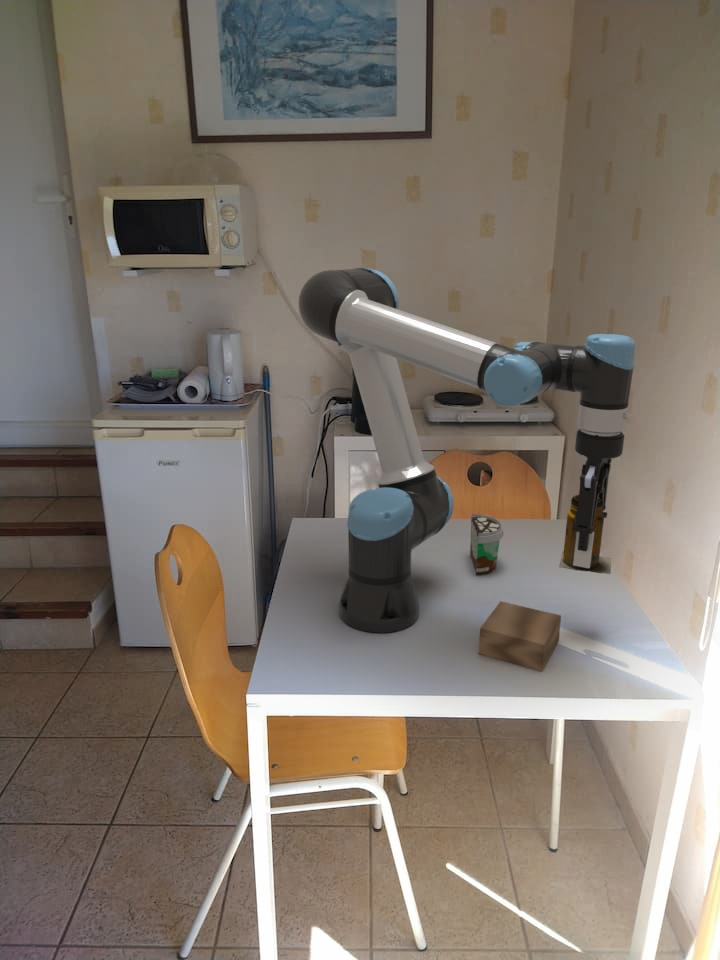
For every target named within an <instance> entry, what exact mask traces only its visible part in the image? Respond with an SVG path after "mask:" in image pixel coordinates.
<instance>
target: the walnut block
mask: <svg viewBox="0 0 720 960" xmlns="http://www.w3.org/2000/svg"><path fill="white" fill-rule="evenodd" d="M561 619H562V615H560V614H556V613H553V612H552V613H551V612H547V611H544V610H539V609H535V608H531V607H528V606H527V607H526V606H522V605H518V604H515V603H510V602H506V601H502V600H501V601H499V602H498V604H497V605H496V607H495V608H494V609H493V610H492V612H491V613H490V614H489V616H488V617H487V618H486V620H485V621H484V622H483V623H482V625H481V626H480V628H479V641H478V642H479V643H478V655H481V656H485V657H489V658H492V659H496V660H500V661H503V662H507V663H510V664H513V665H518V666H521V667H525V668H528V669H532V670H536V671H539V672H544V669H545V667H546V665H547V664H548V662H549V659H550V658H551V656H552V654H553V652H554V650H555V648H556V647H557V645H558V643H559V641H560V632H561V631H560V630H561V622H562V620H561Z"/></svg>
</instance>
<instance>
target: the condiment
mask: <svg viewBox="0 0 720 960" xmlns="http://www.w3.org/2000/svg"><path fill="white" fill-rule="evenodd" d="M578 499H579V494H576V495H574V496H572V498H571V500H570V507H569V511H568V512H567V517H566V524H565V525H566V526H565V537H564V545H563V550H562V552H561V555H560V556H561V557H560V562H559V564H558V565H559V566H558V567H559V568H560V569H566V570H573V571H576V572H577V571H581V572H589V573H591V572H592V573H596V574H606V575H611V574H612V572H611V571H612V558H611V557H606V556H601V555H600V554H601V546H602V537H603V529H604V521H605V518H604V516H603V514H602V512H604V510H603V508H602V507H603V500H602V499H601V498H599V497H598V503H597V509H596V515H595V520H594V526H593V529H594V530H593V531H594V538H593V547H592V555H591V564H590V568H584V567H579V566H575V565H573V561H574V552H575V543H576V534H577V531H573V530H572V527H575V523H576V515H577V507H578Z"/></svg>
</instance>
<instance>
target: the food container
mask: <svg viewBox="0 0 720 960" xmlns="http://www.w3.org/2000/svg"><path fill="white" fill-rule="evenodd" d="M470 523H471V524H470V547H469V549H470V550H469V554H470V555H469V558H470V561H471V564H472V568H473V572H474V575H475V576H482V575H488V574H491V573H493V572H494V571H495V570H496V568H497V561H498V556H499V555H498V554H499V547H500V540H501V539H502V538H503V537H504V528H503V525H502V523H501V521H499V519H497V518H495V517H493V516H489V515H485V514H478V513H471V517H470Z"/></svg>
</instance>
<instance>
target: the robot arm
mask: <svg viewBox="0 0 720 960" xmlns="http://www.w3.org/2000/svg"><path fill="white" fill-rule="evenodd" d="M398 293H399V292H398V290H397V288H396V285H395V284H394V283H393V281H392V280H391V279H390V277H388V276H387V275H386V274H384V273H383V272H381V271H379V270H378V269H377V270H376V269H371V268H367V267H366V268H365V267H357V268H350V269H349V268H348V269H330V270H329V269H327V270H322V271H320V272H318V273H315V274H314V275H312V276H311V277H310V278H309V279H308V280H307V281H306V282H305V283H304V285H303V286H302V287H301V291H300V293H299V296H298V310H299V314H300V317H301V320H302V322H303V323H304V325H305V326H306V327H307V329H309V330H310V331H312V333H314V334H316V335H318V336H320V337H322V338H325V339H327V340H330V341H333V342H335V343H337V344H338V347H339V349H340V350H342V351H344V352H345V353H347V355H349V358H350V362H351V366H352V368H353V372H354V373H353V374H354V376H355V380H356V384H357V386H358V387H357V388H358V389H359V390H358V391H359V394H360V397H361V402H362V404H363V407H364V408H363V409H364V411H365V416H366V419H367V422H368V426H369V429H370V433H371V436H372V440H373V444H374V447H375V450H376V454H377V458H378V461H379V464H380V467H381V471H382V473H381V474H380V477H379V479H378V481H377V484H378V487H376V488H375V489H371V488H370V489H367V490H365V491H362V492H361V493H359V494H357V495H356V496H355V497H354V498H353V499H352V500H351V502H350V504H349V507H348V515H347V528H348V530H347V531H348V533H347V534H348V537H347V538H348V576H347V580H346V581H345V582H346V583H345V586H344V588H343V591H342V593H341V597H340V600H339V616H340V619H341V620H342V621H343V622H344V623H345V624H346V625H348V626H349V627H352V628H353V629H356V630H359V631H363V632H368V633H378V634H379V633H393V632H397V631H402V630H404V629H407V628H408V627H411V626H412V625H413V624H415V623H416V622H417V620H418V619H419V616H420V601H419V598H418V595H417V591H416V589H415V586H414V582H413V580H412V575H411V574H412V571H411V570H412V551H413V550H414V549H416V548H417V547H418V546H420V545H422V543H424V542H425V541H426V540H428V539H430V538H431V537H433V536H435V535H436V534H438V533H439V532H440V531H442V529H443V528H444V527H445V526H446V525H447V523H449V521H450V519H451V518H452V515H453V512H454V507H455V505H454V503H455V502H454V496H453V493H452V490H451V488H450V486H449V485H448V483H447V482H446V481H443V480H442V478H441V477H439V476H438V475H437V473H436V469H435V465H432V464H431V463H430V462H427V461H426V460H425V458H424V454H423V450H422V447H421V444H420V443H421V442H420V440H419V436H418V432H417V428H416V426H415V423H414V419H413V413H412V411H411V407H410V403H409V400H408V397H407V392H406V390H405V389H406V388H405V386H404V382H403V379H402V375H401V371H400V367H399V363H398V360H401V361H404V362H407V363H409V364H412V365H415V366H418V367H420V368H423V369H424V370H425V369H426V370H427V371H431V372H433V373H435V374H439V375H441V376H445V377H447V378H449V379H452V380H455V381H458V382H461V383H463V384H465V385H469V386H471V387H473V388H476V389H479V390H481V391H485V392H486V394H487V395H488V397H489V398H490V399H491V400H492V401H493V402H494V403H496V404H498V405H501V406H504V407H513V406H519V405H523V404H525V403H528V402H529V401H532V400H533V399H534V398H535V397H537V396H540V395H541V394H544V393H545V392H547V391H550V390H552V391H566V392H572V393H579V394H580V399H579V404H578V405H579V406H578V414H577V423H576V427H577V428H578V430H577V431H576V435H575V445H574V450H575V452H576V453H577V454H579V455H580V456H583V457H586V459H587V460H585V463H584V464H582V468H581V474H580V477H579V491H578V495H579V499H578V507H577V515H576V523H575V527H572V530H573V531H577V534H576V543H575V552H574V561H573V565H575V566H579V567H584V568H590V564H591V555H592V547H593V538H594V531H593V530H594V529H593V526H594V520H595V515H596V509H597V503H598V497H599V498H601V499H602V500H603V507H602V508H603V512H602V514H603V516H604V519H606V518H608V512H605V510H606V508H607V507H606V504H607V503H606V502H607V494H608V487H609V477H610V476H609V475H610V471H611V463H612V459H616V458H618V457H621V455H623V449H624V443H625V434H624V433H623V432H624V431H625V429H626V424H627V423H626V422H627V420H630V419H631V417H632V416H631V413H628V412H627V411H628V407H629V399H630V394H631V388H632V387H631V386H632V381H633V374H634V368H635V364H634V363H635V361H634V360H635V349H636V348H635V346H636V343H635V341H634V339H633V338H632V337H630V336H627V335H623V334H616V333H615V334H613V333H608V334H607V333H595V334H590V335H588V336H587V337H586V342H585V343H584V345H571V344H570V345H568V344H560V343H559V344H558V343H548V342H541V341H537V340H536V341H520V342H517V343H516V344H515V345H514V346H513V348H512V347H510V346H507V345H502V344H500V343H497V342H495V341H492V340H488V339H486V338H482V337H480V336H477V335H474V334H471V333H468V332H465V331H463V330H459V329H456V328H454V327H450V326H447V325H446V324H441V323H439V322H436V321H433V320H431V319H428V318H424V317H421V316H418V315H416V314H412V313H410V312H406V311H403V310H401V309H399V306H400V305H399V304H400V301H399V294H398ZM397 359H398V360H397Z"/></svg>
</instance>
